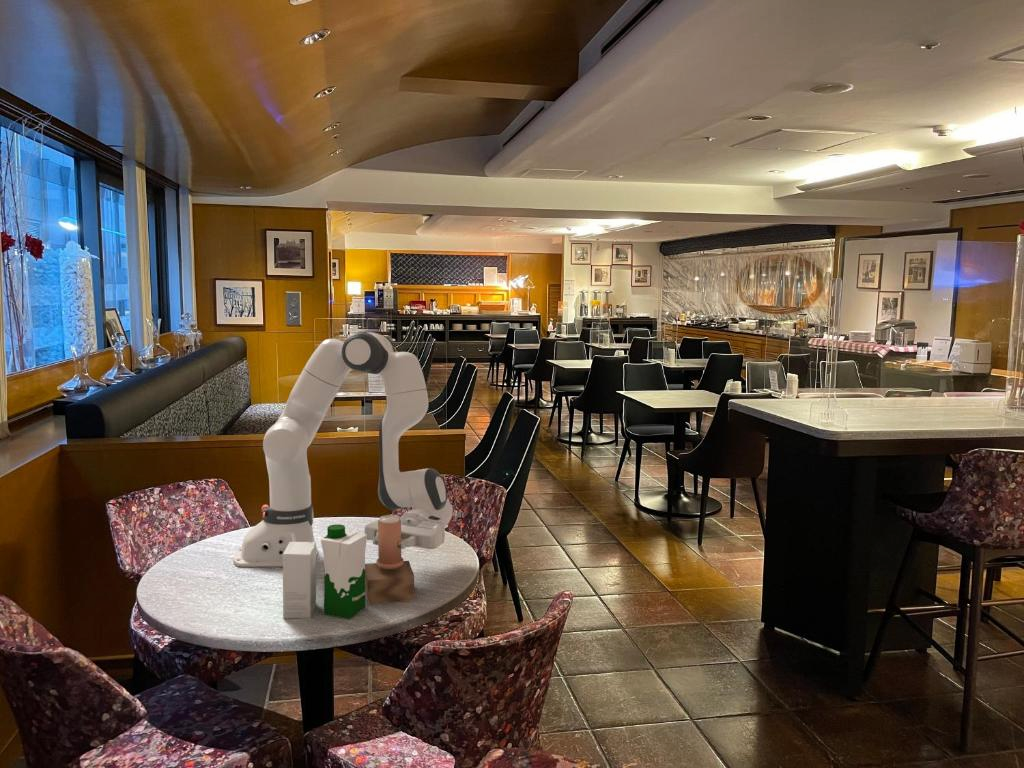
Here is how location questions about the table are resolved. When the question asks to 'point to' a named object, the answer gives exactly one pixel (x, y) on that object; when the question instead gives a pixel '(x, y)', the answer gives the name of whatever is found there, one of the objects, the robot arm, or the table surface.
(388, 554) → the canister
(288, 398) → the robot arm
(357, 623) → the table surface
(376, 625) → the table surface
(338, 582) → the milk carton
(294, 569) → the skincare box
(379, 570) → the block
